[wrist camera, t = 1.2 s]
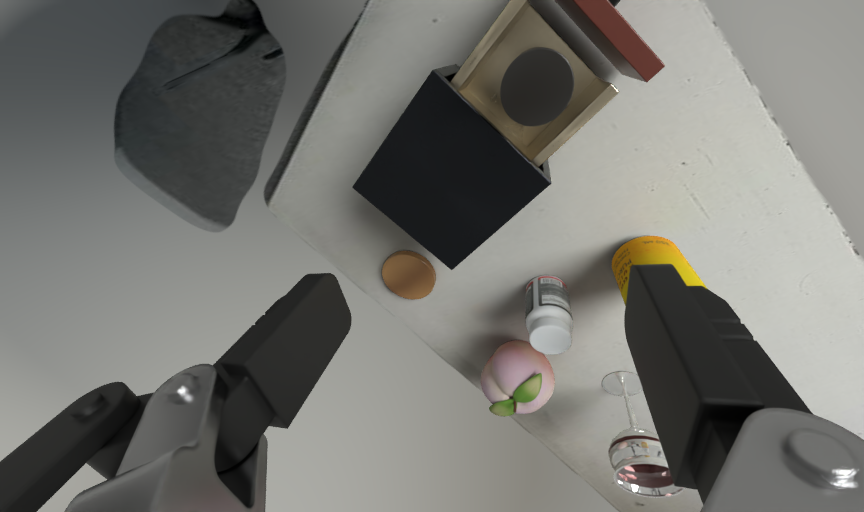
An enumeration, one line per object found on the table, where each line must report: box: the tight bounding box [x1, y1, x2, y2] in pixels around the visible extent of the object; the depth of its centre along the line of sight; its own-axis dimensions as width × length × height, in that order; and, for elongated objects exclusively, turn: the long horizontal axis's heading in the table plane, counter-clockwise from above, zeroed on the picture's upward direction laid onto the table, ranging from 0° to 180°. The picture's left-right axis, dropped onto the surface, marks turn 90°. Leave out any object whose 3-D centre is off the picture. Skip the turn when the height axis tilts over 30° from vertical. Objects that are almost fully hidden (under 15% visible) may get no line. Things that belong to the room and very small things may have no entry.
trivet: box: [382, 251, 436, 299], centre depth 43 cm, size 7×7×1 cm
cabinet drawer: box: [450, 0, 665, 167], centre depth 25 cm, size 12×10×7 cm
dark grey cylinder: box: [500, 47, 574, 126], centre depth 23 cm, size 4×4×10 cm
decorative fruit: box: [481, 340, 555, 416], centre depth 41 cm, size 9×8×10 cm
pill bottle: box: [526, 275, 573, 355], centre depth 36 cm, size 5×5×8 cm
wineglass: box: [602, 372, 686, 498], centre depth 39 cm, size 7×7×12 cm
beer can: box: [612, 236, 706, 306], centre depth 29 cm, size 6×6×15 cm
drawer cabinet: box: [353, 64, 551, 270], centre depth 30 cm, size 12×12×9 cm
